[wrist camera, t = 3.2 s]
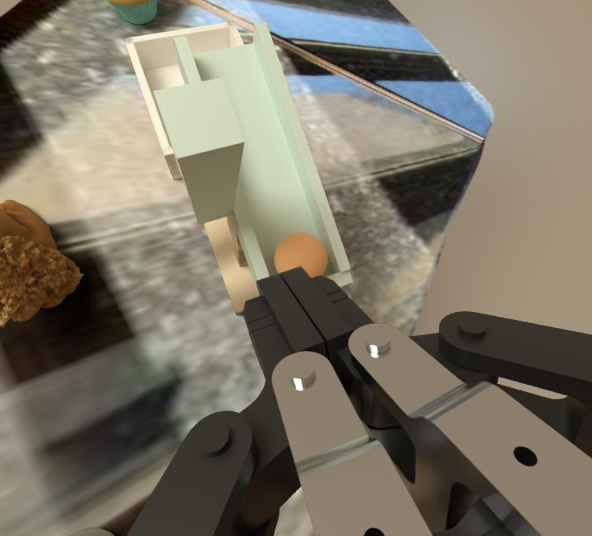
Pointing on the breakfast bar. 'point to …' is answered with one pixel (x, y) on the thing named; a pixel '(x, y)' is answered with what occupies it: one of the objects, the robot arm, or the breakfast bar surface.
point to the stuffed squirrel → (30, 265)
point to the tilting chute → (248, 152)
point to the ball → (301, 254)
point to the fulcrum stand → (231, 261)
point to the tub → (172, 68)
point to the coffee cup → (92, 532)
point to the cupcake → (136, 10)
